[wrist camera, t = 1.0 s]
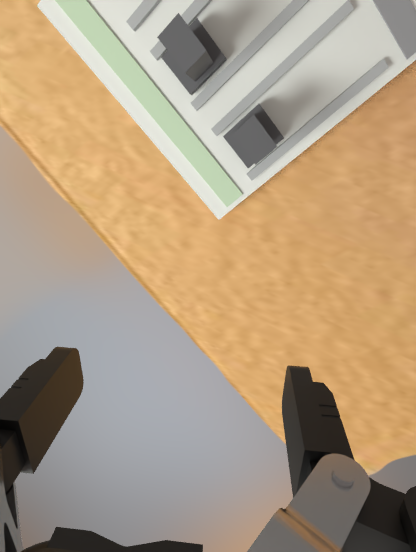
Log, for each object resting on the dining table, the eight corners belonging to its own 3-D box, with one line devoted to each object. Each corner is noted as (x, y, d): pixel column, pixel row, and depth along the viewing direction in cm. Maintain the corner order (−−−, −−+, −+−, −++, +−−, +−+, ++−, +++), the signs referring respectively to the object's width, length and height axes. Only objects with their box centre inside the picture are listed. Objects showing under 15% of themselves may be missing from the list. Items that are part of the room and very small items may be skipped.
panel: (264, -290, 22) (275, -523, 14) (439, 36, 29) (516, 2, 20) (49, 12, 31) (-22, -27, 23) (220, 214, 37) (212, 241, 29)
